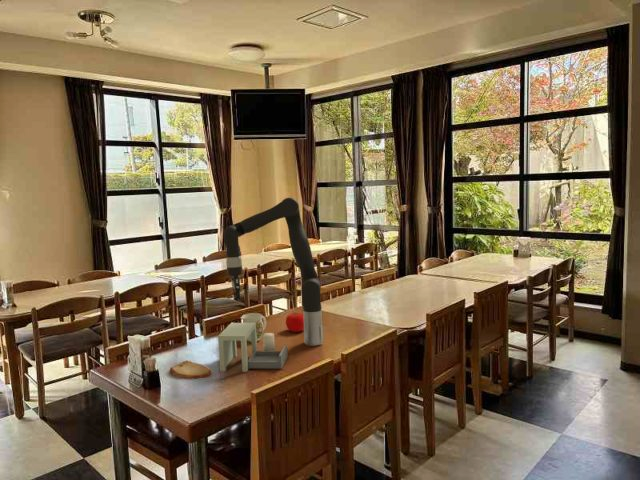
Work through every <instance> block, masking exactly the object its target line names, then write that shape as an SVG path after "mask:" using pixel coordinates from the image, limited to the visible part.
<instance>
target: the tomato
mask: <svg viewBox="0 0 640 480" xmlns="http://www.w3.org/2000/svg"><path fill="white" fill-rule="evenodd" d="M285 325H286V326H285V327H287V329H288V330H289V331H290V332H293V333H298V332H302V331H304V318H303V313H301V312H300V313H299V312H293V313H290V314H288V315H287V317H286V318H285Z"/></svg>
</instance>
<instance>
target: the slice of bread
mask: <svg viewBox="0 0 640 480" xmlns="http://www.w3.org/2000/svg"><path fill="white" fill-rule="evenodd" d="M169 373H170V375H171V376H173V377H176V378H178V379H184V380H186V379H187V380H199V379H206V378H210V377H212V376H213V372H212V370H211V369H210V368H209V367H207V366H205V365H203V364H201V363H198V362H194V361H191V360H186V359H185V360H183V361H182V362H179V363H177V364H176V365H174V366H172V367H170V369H169Z"/></svg>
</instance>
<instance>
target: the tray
mask: <svg viewBox="0 0 640 480" xmlns="http://www.w3.org/2000/svg"><path fill="white" fill-rule="evenodd" d="M287 358H288V344H284V346H283V347H282V348H281V350H275V351H264V350H257V351H254V352H253V354H252V353H251V356H250V357H248V369H279V370H282V369H283V367H284V365H285V362H286V361H287Z"/></svg>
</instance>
